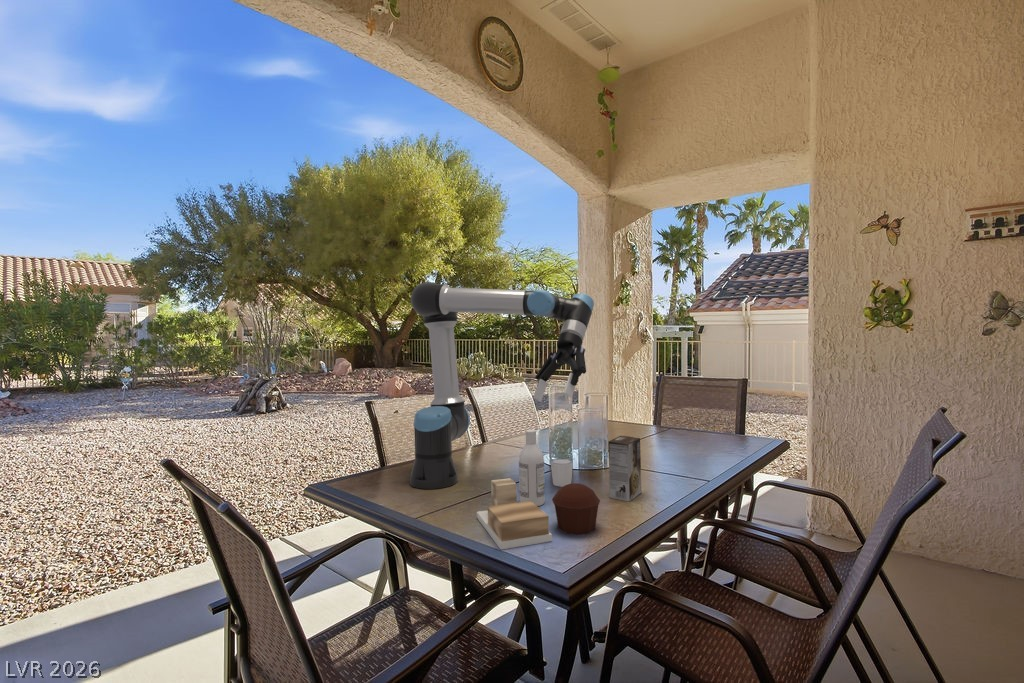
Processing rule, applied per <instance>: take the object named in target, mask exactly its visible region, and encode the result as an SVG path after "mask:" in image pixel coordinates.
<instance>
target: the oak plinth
mask: <svg viewBox="0 0 1024 683" xmlns="http://www.w3.org/2000/svg"><path fill="white" fill-rule="evenodd" d="M487 510H488V524H489V525H490V527H491V528H492V529H493V531H494V532H495V533H496V534H497V536H498V537H499V538H500V540H501V541H508V540H514V539H520V538H527V537H533V536H539V535H545V534H549V532H550V528H549V526H550V525H549V524H550V521H549V515H548V514H547V513H546V512H545V511H543V510H542V509H541V508H540V507H539V506H536V505H535V504H534V503H533V502H532V501H526V502H520V501H519V502H518V501H517V503H511V504H503V505H496V506H492V505H490V506H487Z"/></svg>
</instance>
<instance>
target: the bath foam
mask: <svg viewBox="0 0 1024 683" xmlns="http://www.w3.org/2000/svg"><path fill="white" fill-rule="evenodd" d="M518 458H519V459H518V477H519V478H518V480H519V482H518V486H519V488H518V490H519V502H526V501H532V502H533V503H534V504H535V505H536V506H537V507H539V506H542V505H544V504H545V502H546V496H545V495H546V492H545V487H546V486H545V484H546V483H545V458H544V454H543V452H542V450H541V448H540V447H539V445H538V444H537V430H535V429H527V430H525V444H524V446H523V448H521V450H520V453H519V457H518Z"/></svg>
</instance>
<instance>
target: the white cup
mask: <svg viewBox="0 0 1024 683" xmlns="http://www.w3.org/2000/svg"><path fill="white" fill-rule="evenodd" d="M573 462H574V461H572V460H571V459H565V458H557V459H553V460H550V466H551V467H550V469H551V477H552V485H553V486H556V487H560V488H562V487H563V486H565V485H568V484H572V479H573V475H572V474H573V466H574V463H573Z"/></svg>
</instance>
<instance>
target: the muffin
mask: <svg viewBox="0 0 1024 683" xmlns="http://www.w3.org/2000/svg"><path fill="white" fill-rule="evenodd" d="M551 501H552V503H553V504H554V505H553V506H554V509H555V515H556V521H557V527H558V530H559V531H562V532H563V533H565V534H569V535H570V534H571V535H576V536H578V535H587V534H590V533H592V532H594V531H595V530H596V525H597V517H598V510H599V505H600V502H601V500H600V498H599V497H598V495H597V494H596V493H595V491H594V490H593V489H592V488H591V487H589V486H587V485H586V484H583V483H577V482H576V483H573V482H572V483H571V484H568V485H565V486H563V487H560V489H558V491H557V492H555V494H554V496H553V497H552V499H551Z"/></svg>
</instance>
